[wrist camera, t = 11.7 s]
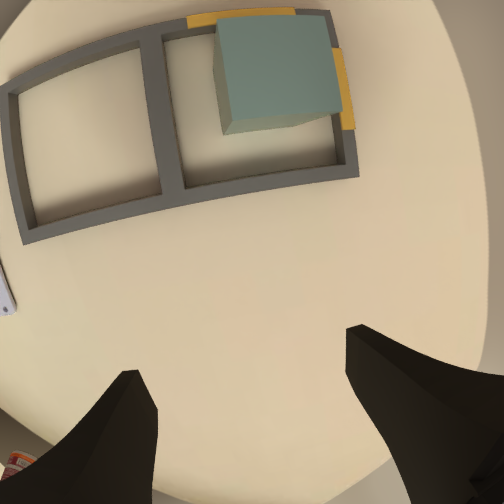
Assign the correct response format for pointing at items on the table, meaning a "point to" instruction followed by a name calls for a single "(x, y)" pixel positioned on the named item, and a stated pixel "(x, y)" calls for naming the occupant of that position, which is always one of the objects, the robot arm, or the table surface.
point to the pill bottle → (17, 463)
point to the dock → (162, 127)
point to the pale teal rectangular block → (273, 72)
